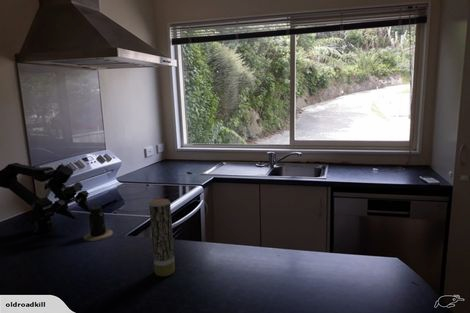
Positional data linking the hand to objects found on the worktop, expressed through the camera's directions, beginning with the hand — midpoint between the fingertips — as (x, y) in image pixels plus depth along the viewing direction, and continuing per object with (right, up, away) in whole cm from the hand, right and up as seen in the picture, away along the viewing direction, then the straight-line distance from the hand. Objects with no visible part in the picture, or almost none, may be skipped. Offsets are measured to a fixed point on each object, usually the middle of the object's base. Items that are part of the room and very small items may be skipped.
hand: (82, 215), depth 151 cm
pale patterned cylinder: (+44, -14, -35) cm, 58 cm away
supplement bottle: (+7, -8, 0) cm, 11 cm away
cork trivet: (+7, -9, -1) cm, 12 cm away
